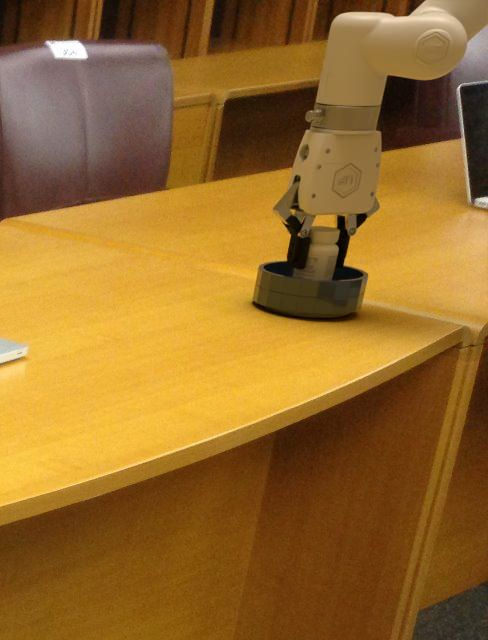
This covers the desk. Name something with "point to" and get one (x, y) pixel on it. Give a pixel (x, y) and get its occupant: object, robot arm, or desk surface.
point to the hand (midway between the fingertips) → (314, 264)
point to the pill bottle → (320, 254)
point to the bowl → (309, 291)
